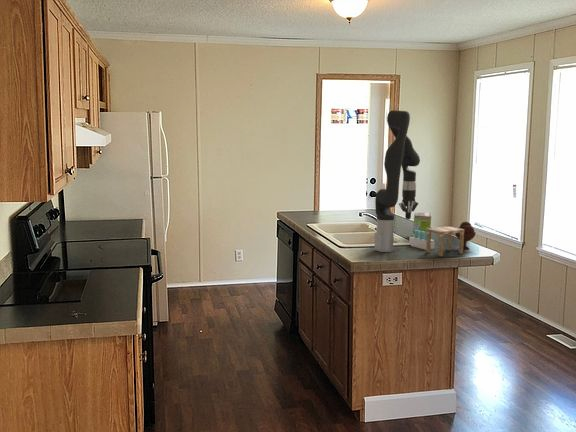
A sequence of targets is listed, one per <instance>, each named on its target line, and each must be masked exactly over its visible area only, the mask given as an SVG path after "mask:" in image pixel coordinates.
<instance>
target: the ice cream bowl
mask: <svg viewBox="0 0 576 432" xmlns="http://www.w3.org/2000/svg"><path fill="white" fill-rule="evenodd" d="M458 228H460V229H464V244H463V251H464V250H465V251H466V250H468V251H469V250H470V247H468V246H467V242H470V241H471V240H473V239H474V238H475V236H476V232H475V229H474V227H473V226H472V224H471V223H470V222H468V221H462V222H461V223H460V225H459V226H458ZM454 235H455V236H456V238H457V240H459V241H460V233H454Z"/></svg>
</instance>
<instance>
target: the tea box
mask: <svg viewBox="0 0 576 432" xmlns="http://www.w3.org/2000/svg"><path fill="white" fill-rule="evenodd" d="M413 215H414V216H413V227H412V228H413V230H412V235H413V236H412V237H414V230H420V231H425V232H427V229H428V228H432V214H431V212H419V211H417V212H414V214H413Z"/></svg>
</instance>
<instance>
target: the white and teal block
mask: <svg viewBox="0 0 576 432" xmlns="http://www.w3.org/2000/svg"><path fill="white" fill-rule="evenodd" d="M408 239H409V240H408V241H409V242H408V246H409V245H411V246H410V247H414V248H418V249H420V250H421V249H422V250H425V251H426V247H427V232H425V231H420V230H414V237H413V236H409V238H408ZM434 249H435V239H431V248H430V250H434Z"/></svg>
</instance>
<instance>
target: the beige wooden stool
mask: <svg viewBox="0 0 576 432" xmlns="http://www.w3.org/2000/svg"><path fill="white" fill-rule="evenodd" d="M432 233H433V234H438V235H439V242H438V243H439V244H438V257H443V256H444V237H445V235H446V246H445V249H446V251H451V247H452V246H451V243H452V234H455V233H460V240H459V241H458V242H459V243H458V244H459V245H458V254H460V255H462V254H464V250H463V244H464V229H460V228H459V227H456V226H455V227H453V226H450V225H449V226H440V227H431V228H428V229H427V247H426V250H425V251H426V252H425V253H427V254H430V253H431V249H430V248H431V240H432Z"/></svg>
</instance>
